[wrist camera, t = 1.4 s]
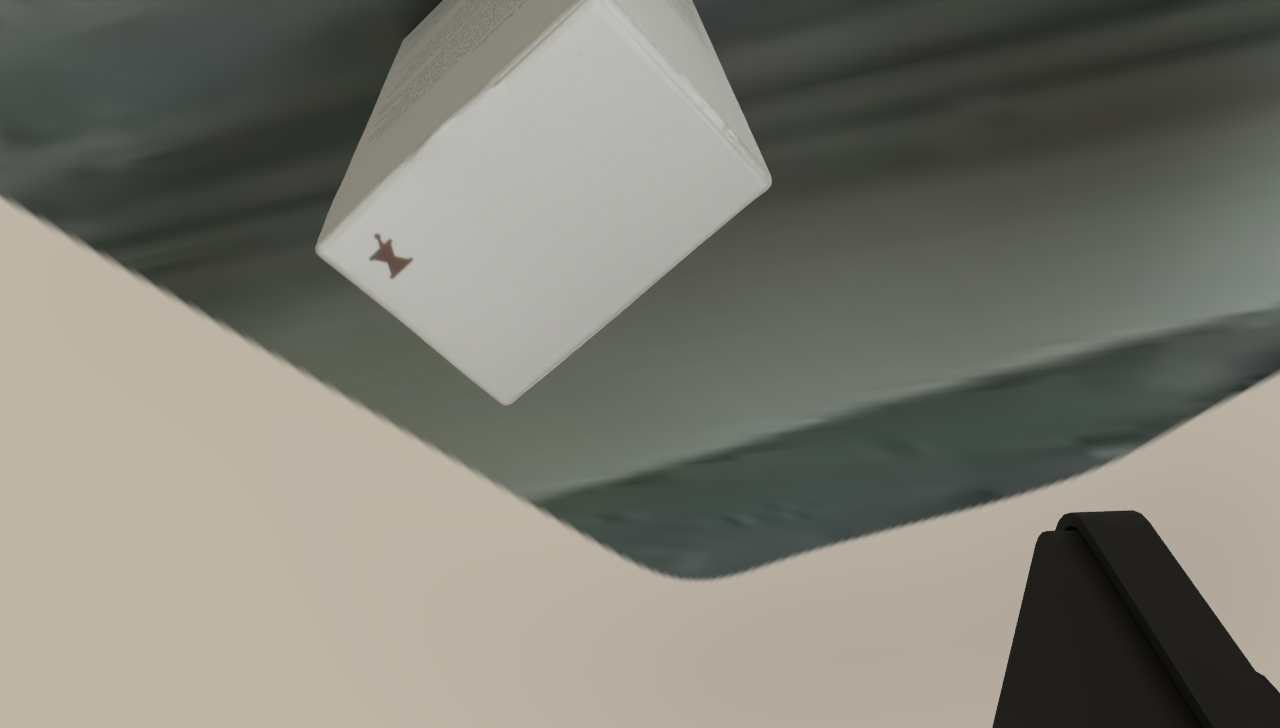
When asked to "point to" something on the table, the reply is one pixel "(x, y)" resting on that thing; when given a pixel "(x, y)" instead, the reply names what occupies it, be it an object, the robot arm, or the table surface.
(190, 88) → the table surface
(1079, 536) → the robot arm
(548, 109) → the skincare box
